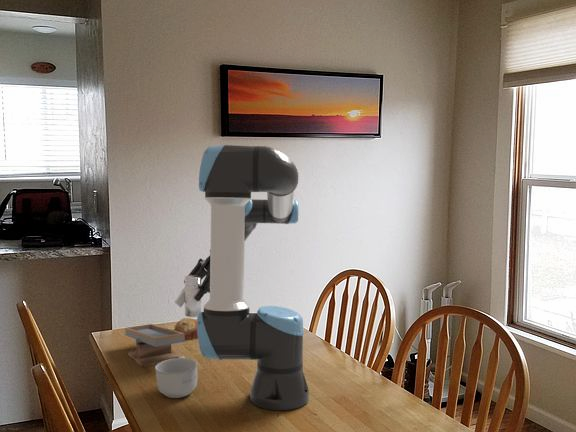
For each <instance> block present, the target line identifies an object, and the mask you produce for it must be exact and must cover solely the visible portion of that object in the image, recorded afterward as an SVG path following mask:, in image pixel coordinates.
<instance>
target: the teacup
mask: <svg viewBox="0 0 576 432" xmlns="http://www.w3.org/2000/svg"><path fill="white" fill-rule="evenodd" d="M179 356H180V357H179V358H174V359H169V360H165V361H162V362H160V363H158V364H155V365H154V366H155V367H154V370H155V377H156V385H157V389H158V391H159V392H160V393H161V394H162V395H164V396H166V397H168V398H171V399H178V398H179V399H180V398H184V397H187V396H189V395H190V394H191V393H192V392H193V391H194V390H195V389H196V388H197V386H198V362H197V361H196V360H195V359H192V358H186V357H185V356H184V355H179Z"/></svg>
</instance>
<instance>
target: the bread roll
mask: <svg viewBox="0 0 576 432" xmlns="http://www.w3.org/2000/svg"><path fill="white" fill-rule="evenodd" d="M173 330H175V331H178V332H181V333H184V335H185V341H188V340H189V341H190V340H198V334H197V319H195V318H192V317H184V318H182V319H180V320H178V321H177V323H175V326H174V329H173Z"/></svg>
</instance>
